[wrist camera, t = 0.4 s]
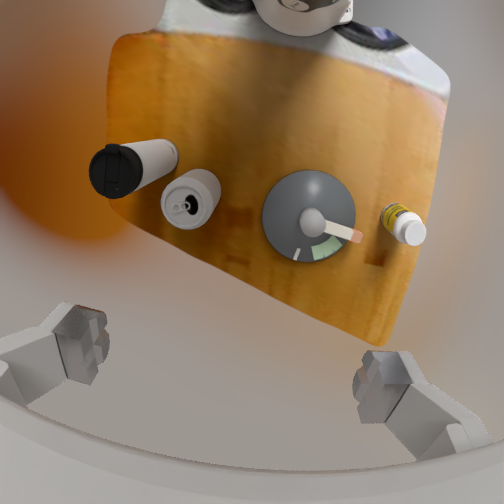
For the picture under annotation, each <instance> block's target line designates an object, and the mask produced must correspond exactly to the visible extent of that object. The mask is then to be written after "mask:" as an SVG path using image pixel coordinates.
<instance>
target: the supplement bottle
mask: <svg viewBox="0 0 504 504" xmlns="http://www.w3.org/2000/svg"><path fill="white" fill-rule="evenodd" d="M381 222H382V224H383V226H384V228H385V229H386V230H387V231H389V232H390V233H391V234H392V235H393V236H394V237H395V238H396V239H397V240H398V241H400V242H401V243H404V244H409V245H411V246H417V245H419V244H421V243H422V242H423V241H424V239H425V237H426V228H425V226H424V224H422V221H421V219H420V217H419V216H418V215H417V214H415V213H414V212H412V211H411V210H409V209H408V208H406V207H405V206H403V205H401V204H399V203H391V204H389V205H387V206H386V207H385V208H384V210H383V212H382V214H381Z"/></svg>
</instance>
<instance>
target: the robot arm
mask: <svg viewBox="0 0 504 504" xmlns="http://www.w3.org/2000/svg"><path fill="white" fill-rule="evenodd" d="M252 1H253V3H254V5H255V7H256V10H257V12H258V14H259V15H260V17H261V18H262V19H263V20H264V22H266V23H267V24H268V25H269V26H271V27H272V28H274V29H275V30H277V31H279V32H282V33H285V34H288V35H293V36H312V35H317V34H320V33H322V32H324V31H326V30H328V29H329V28H331V27H333V26H335V25H342V24H347V23H349V22H351V20H352V16H353V0H252ZM346 11H347V13H346ZM106 324H107V317H106V314H105V313H104V312H103V311H99V310H95V309H91V308H88V307H84V306H80V305H76V304H73V303H69V302H61V303H60V305H58V306H57V308H56V309H55V310H54V311H53V312H52V313H51V314H50V315H49V316H48V317H47V318H46V319H45V320H44V321H43V322H42V323H41V325H40V326H39V327H38V328H37V327H31V328H28V329H26V330H23V331H20V332H17V333H14V334H11V335H9V336H6V337H3V338H0V504H504V440H501V441H498V442H495V443H493V442H492V440H491V438H490V436H489V434H488V432H487V430H486V428H485V427H484V425H483V423H482V421H481V419H480V418H479V417H478V416H477V415H475V414H474V413H472V412H470V411H469V410H468V409H467V408H465V407H464V406H462V405H461V404H460V403H458V402H457V401H455V400H454V399H452V398H451V397H449V396H448V395H447V394H445V393H444V392H443V391H441V390H440V389H438V388H437V387H435V386H434V385H433V384H431V383H427V382H426V380H425V378H424V376H423V374H422V373H421V371H420V369H419V367H418V365H417V363H416V361H415V360H414V358H413V356H412V354H411V353H410V352H408V351H394V352H393V351H369V350H368V351H367V352H366V353H365V354H364V356H363V358H362V362H363V366H362V367H361V368H359V369H358V370H357V371H356V374H355V376H354V379H353V395H354V398H356V400H357V401H359V402H360V404H359V405H358V407H357V409H358V413H359V416H360V420H361V423H385V425H386V426H387V427H388V428H389V430H391V432H392V433H393V434H394V435H395V436H396V437H397V438H398V439H399V440H400V441H401V443H402V444H403V445H404V446H405V447H406V448H407V449H408V450H409V451H410V452H411V453H412V454H413V455H414V456H415V457H416V459H417V460H416V462H412V463H405V464H398V465H391V466H383V467H374V468H363V469H350V470H329V471H287V470H266V469H253V468H242V467H233V466H225V465H217V464H210V463H204V462H197V461H192V460H186V459H181V458H176V457H171V456H166V455H162V454H157V453H153V452H149V451H145V450H141V449H137V448H134V447H130V446H127V445H123V444H120V443H116V442H113V441H110V440H107V439H103V438H100V437H97V436H94V435H91V434H89V433H86V432H83V431H80V430H78V429H75V428H72V427H70V426H67V425H65V424H62V423H60V422H57V421H55V420H52V419H50V418H48V417H45V416H43V415H41V414H39V413H36V412H34V411H32V410H30V409H28V407H27V404H29V403H31V402H32V401H34V400H36V399H37V398H39V397H40V396H42V395H44V394H45V393H47V392H49V391H50V390H52V389H53V388H55V387H57V386H58V385H60V384H61V383H63V382H65V381H66V380H67V378H68V379H71V380H74V381H77V382H80V383H84V384H88V385H91V384H92V382H93V380H94V378H95V377H96V375H97V373H98V367H97V365H99V364H101V363H103V362H104V361H105V359H106V357H107V355H108V351H109V343H110V340H109V334H108V333H107V331H106V330H105V329H104V328H105V326H106Z"/></svg>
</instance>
